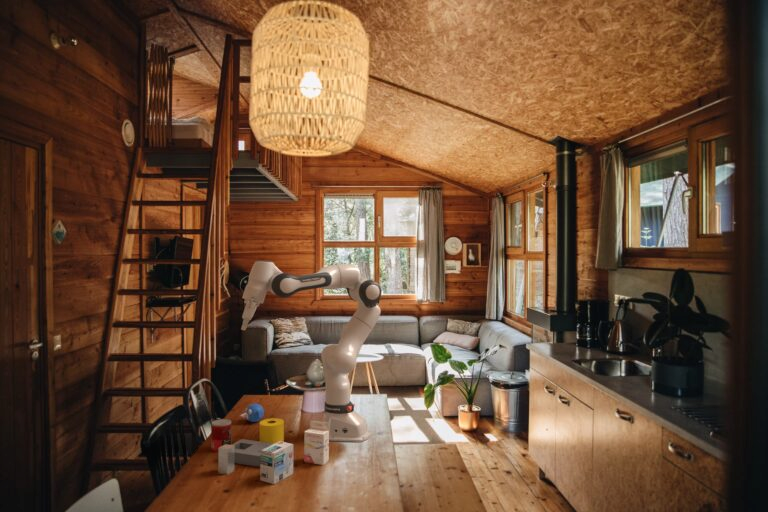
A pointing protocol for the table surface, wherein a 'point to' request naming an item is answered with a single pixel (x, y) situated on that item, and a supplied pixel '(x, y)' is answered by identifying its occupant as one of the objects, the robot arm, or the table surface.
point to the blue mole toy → (253, 413)
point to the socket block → (249, 452)
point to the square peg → (226, 459)
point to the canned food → (220, 433)
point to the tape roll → (272, 430)
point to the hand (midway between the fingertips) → (243, 329)
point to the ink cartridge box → (316, 443)
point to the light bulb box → (276, 462)
